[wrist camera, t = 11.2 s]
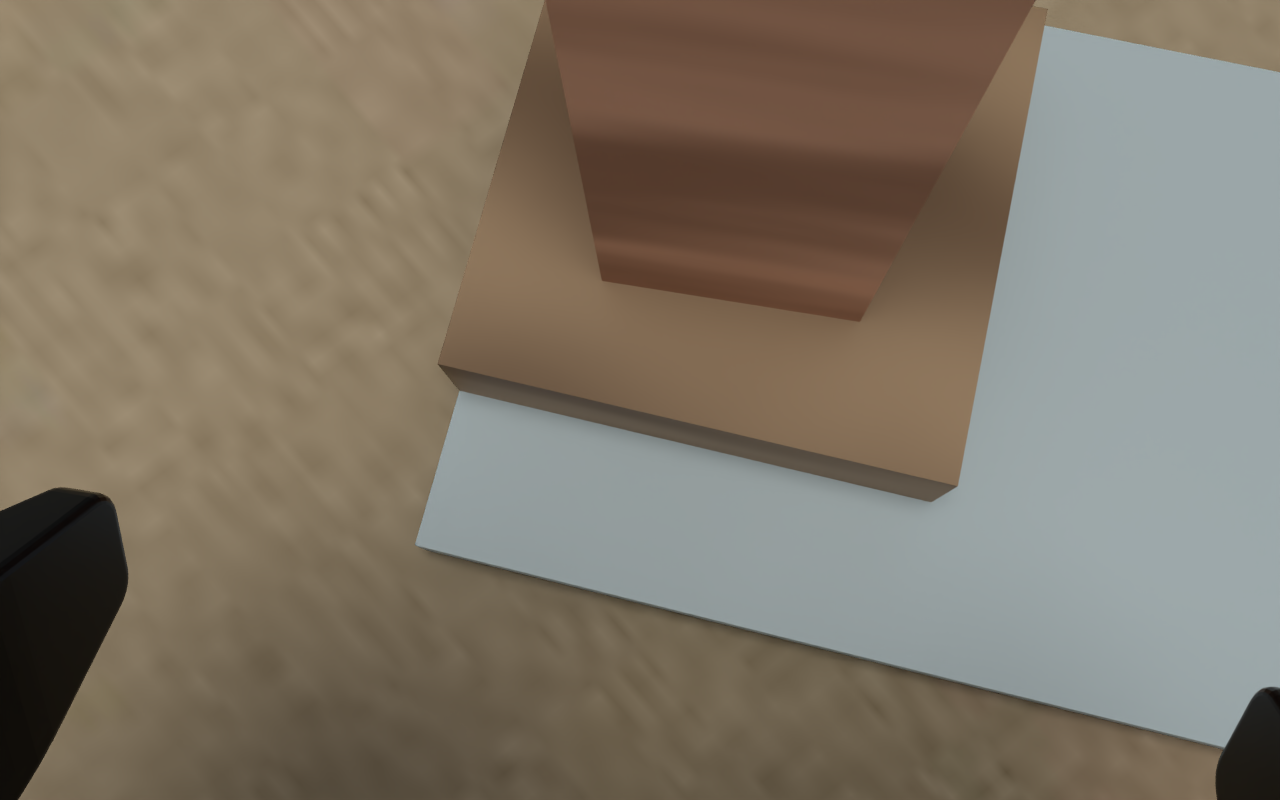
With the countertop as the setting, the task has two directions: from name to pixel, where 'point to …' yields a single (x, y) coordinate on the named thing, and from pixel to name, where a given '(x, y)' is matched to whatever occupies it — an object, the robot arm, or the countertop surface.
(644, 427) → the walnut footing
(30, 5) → the countertop surface
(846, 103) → the terracotta pillar
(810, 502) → the board
